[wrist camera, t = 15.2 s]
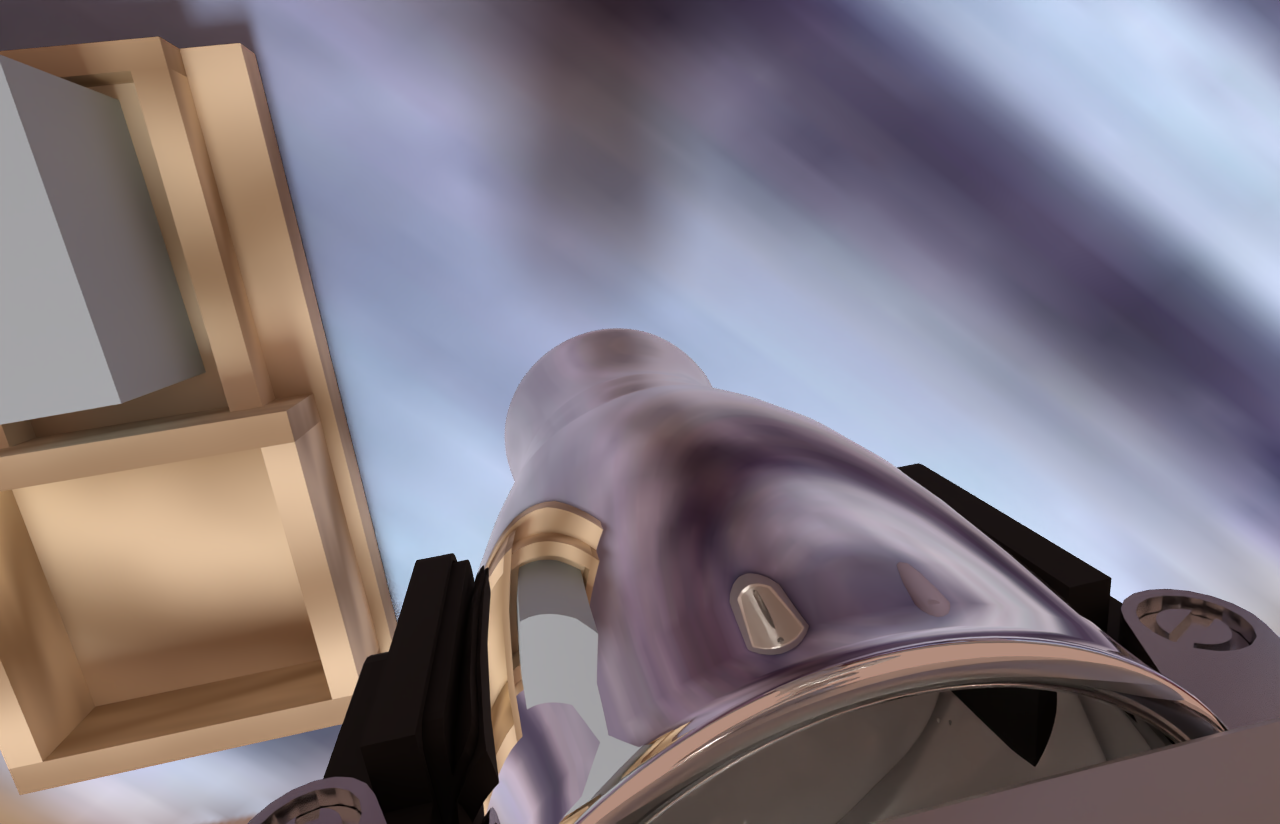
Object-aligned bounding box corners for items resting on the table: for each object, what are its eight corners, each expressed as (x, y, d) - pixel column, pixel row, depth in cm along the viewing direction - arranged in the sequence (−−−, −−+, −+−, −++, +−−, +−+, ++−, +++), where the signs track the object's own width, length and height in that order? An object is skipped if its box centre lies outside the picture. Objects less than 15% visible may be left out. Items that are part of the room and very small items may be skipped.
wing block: (-44, 120, 20) (-222, 77, 15) (118, 100, 21) (-3, 53, 16) (60, 397, 22) (-67, 436, 17) (206, 372, 23) (121, 403, 18)
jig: (-165, 94, 20) (-323, 57, 17) (255, 53, 22) (198, 11, 18) (80, 717, 26) (2, 799, 22) (403, 650, 27) (384, 714, 24)
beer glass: (591, 591, 20) (771, 1439, 6) (433, 417, 18) (149, 1114, 4) (777, 450, 20) (1399, 985, 6) (640, 257, 18) (1114, 390, 4)
